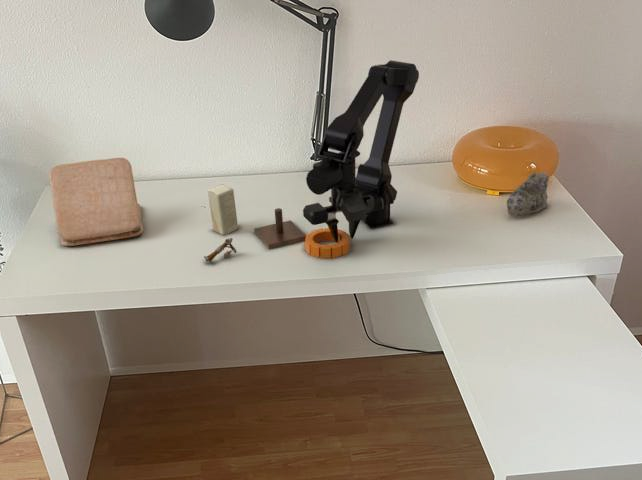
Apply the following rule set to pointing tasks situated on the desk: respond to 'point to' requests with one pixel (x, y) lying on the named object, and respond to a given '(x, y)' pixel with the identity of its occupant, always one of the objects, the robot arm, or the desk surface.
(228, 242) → the wooden post with brackets
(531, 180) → the mineral rock
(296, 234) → the brown peg stand
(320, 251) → the orange ring
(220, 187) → the box
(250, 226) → the desk surface
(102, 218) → the case
